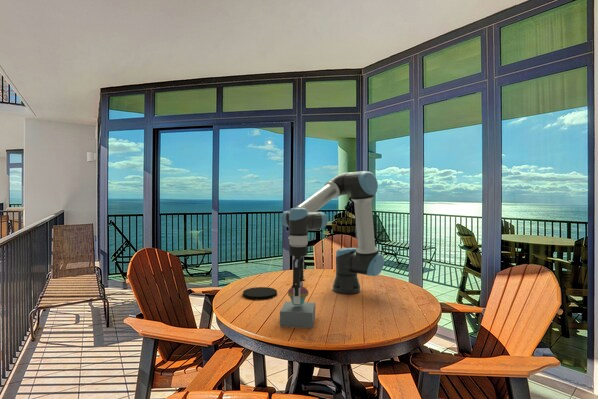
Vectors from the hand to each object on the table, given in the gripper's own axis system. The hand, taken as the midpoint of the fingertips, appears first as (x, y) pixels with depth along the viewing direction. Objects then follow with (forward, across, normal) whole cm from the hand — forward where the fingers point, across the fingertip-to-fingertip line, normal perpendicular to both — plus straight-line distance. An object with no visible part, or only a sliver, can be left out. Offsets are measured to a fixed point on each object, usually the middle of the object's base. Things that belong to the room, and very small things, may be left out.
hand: (298, 300), depth 141 cm
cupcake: (+2, 0, 0) cm, 2 cm away
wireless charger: (+9, -35, -25) cm, 44 cm away
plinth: (+9, 0, 0) cm, 9 cm away
